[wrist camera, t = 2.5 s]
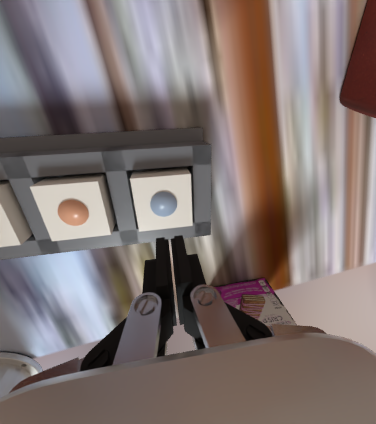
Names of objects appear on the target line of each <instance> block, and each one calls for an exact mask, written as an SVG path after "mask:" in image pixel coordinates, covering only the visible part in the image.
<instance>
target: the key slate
mask: <svg viewBox="0 0 376 424" xmlns="http://www.w3.org/2000/svg"><path fill="white" fill-rule="evenodd" d="M130 182H131V188H132V193H133V199H134V205H135V211H136V216H137V222H138V228H139V232H141V231H150V230H159V229H168V228H177V227H186V226H193V221H192V193H191V173H190V172H189V170H188V169H187V168H174V169H161V170H147V171H134V172H133V173H132V175H131V178H130Z"/></svg>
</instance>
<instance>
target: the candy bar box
mask: <svg viewBox="0 0 376 424" xmlns="http://www.w3.org/2000/svg"><path fill="white" fill-rule="evenodd" d="M214 288H216V289H217V291H218V292H219V294H220V295H221V297H222V299H223V301H224V302H225V303H227V304H229V305H231V306H233V307H235V308H237V309H238V310H240V311H242V312H244V313H246V314H248V315H250V316H251V317H253V318H255V319H257V320H259V321H261V322H262V323H264V324H265V325H266V326H271V324H282V325H297V324H296V323H295V321H294V320H293V318H292V317H291V315H290V314H289V313H288V311H287V309H286V308H285V307H284V305H283V304H282V302H281V301H280V299H279V298H278V297H277V295H276V294H275V292H274V291H273V289H272V288H271V286H270V285H269V283H268V282H267V280H266V279H265V278H261V279H256V280H250V281H245V282H239V283H234V284H229V285H223V286H217V287H214Z"/></svg>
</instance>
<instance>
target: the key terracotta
mask: <svg viewBox="0 0 376 424" xmlns="http://www.w3.org/2000/svg"><path fill="white" fill-rule="evenodd" d="M30 189H31V191H32V194H33V196H34V199H35V201H36V203H37V206H38V208H39V211H40V213H41V216H42V218H43V221H44V223H45V225H46V228H47V230H48V233H49V235H50V238H51V240H52V241H60V240H69V239H78V238H87V237H96V236H105V235H111V234H112V231H113V229H114V226H115V224H116V219H115V215H114V210H113V206H112V202H111V197H110V193H109V189H108V184H107V180H106V175H105V174H94V175H81V176H68V177H54V178H45V179H44V180H42V181H40V182H38V183H36V184H34V185H32V186H30Z"/></svg>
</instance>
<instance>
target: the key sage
mask: <svg viewBox="0 0 376 424" xmlns="http://www.w3.org/2000/svg"><path fill="white" fill-rule="evenodd" d="M32 234H33V232H32V230H31V228H30V226H29V224H28V221H27V219H26V217H25V215H24V213H23V210H22V208H21V206H20V204H19V201H18V199H17V197H16V195H15V193H14V190H13V188H12V186H11V184H10V182H9V181H1V182H0V247H7V246H15V245H21V244H22V243H24V242H25V241H26V240H27V239H28V238H29V237H30V236H31V235H32Z"/></svg>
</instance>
